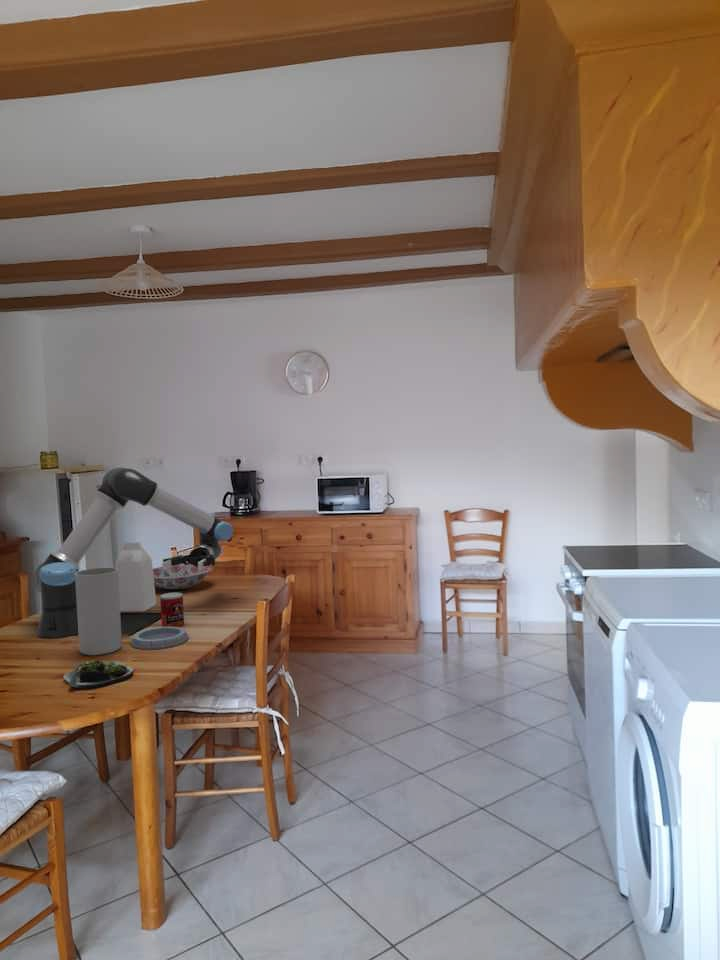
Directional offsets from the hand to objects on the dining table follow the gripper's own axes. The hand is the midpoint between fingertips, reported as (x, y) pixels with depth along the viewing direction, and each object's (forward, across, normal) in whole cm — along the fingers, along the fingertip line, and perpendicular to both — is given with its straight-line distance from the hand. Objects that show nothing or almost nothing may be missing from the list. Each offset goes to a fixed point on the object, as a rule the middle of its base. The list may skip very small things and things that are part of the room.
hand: (181, 566), depth 245 cm
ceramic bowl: (-50, +22, -20) cm, 58 cm away
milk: (-16, +26, -19) cm, 36 cm away
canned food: (+10, 0, -20) cm, 22 cm away
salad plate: (+62, +1, -20) cm, 65 cm away
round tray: (+28, -3, -19) cm, 34 cm away
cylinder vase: (+37, +13, -19) cm, 44 cm away
